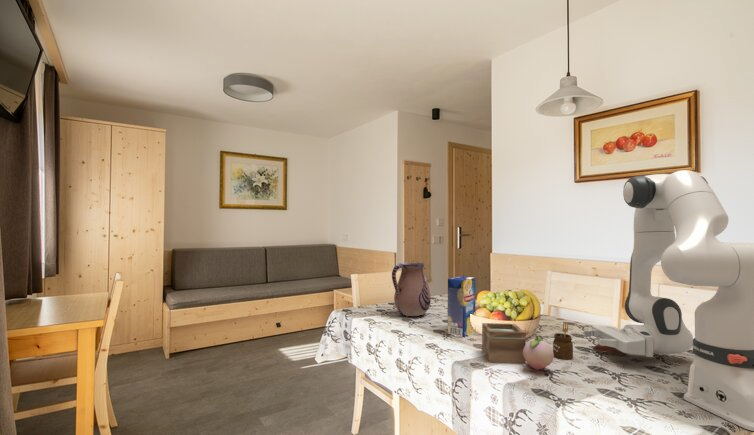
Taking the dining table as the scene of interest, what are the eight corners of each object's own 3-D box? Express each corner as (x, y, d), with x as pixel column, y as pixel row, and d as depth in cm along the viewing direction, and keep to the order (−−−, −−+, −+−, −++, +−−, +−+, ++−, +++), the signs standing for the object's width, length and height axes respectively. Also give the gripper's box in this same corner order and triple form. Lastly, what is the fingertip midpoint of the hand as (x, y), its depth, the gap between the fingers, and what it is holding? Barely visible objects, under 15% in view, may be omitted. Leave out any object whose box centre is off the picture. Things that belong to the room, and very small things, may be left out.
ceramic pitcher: (437, 315, 181) (438, 263, 181) (410, 322, 165) (410, 266, 166) (409, 309, 193) (409, 261, 193) (381, 316, 177) (382, 263, 178)
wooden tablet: (624, 359, 123) (624, 354, 123) (591, 351, 131) (591, 346, 131) (647, 343, 140) (647, 338, 141) (617, 337, 148) (617, 332, 148)
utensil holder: (569, 354, 126) (569, 318, 126) (576, 360, 119) (575, 322, 120) (550, 353, 127) (550, 317, 127) (556, 359, 120) (556, 322, 121)
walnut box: (525, 363, 116) (525, 332, 117) (489, 362, 117) (489, 331, 117) (514, 351, 127) (514, 323, 128) (482, 350, 128) (482, 323, 128)
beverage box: (475, 331, 152) (475, 277, 153) (463, 337, 143) (463, 280, 144) (460, 328, 156) (460, 276, 157) (447, 334, 148) (447, 278, 148)
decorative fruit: (552, 378, 105) (552, 342, 105) (521, 372, 109) (521, 338, 109) (554, 367, 113) (554, 334, 113) (526, 362, 117) (525, 330, 117)
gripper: (616, 321, 132) (576, 320, 133) (655, 337, 112) (607, 336, 113) (616, 339, 132) (576, 338, 133) (656, 359, 112) (608, 357, 112)
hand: (591, 337), depth 123 cm, fingers open, 8 cm apart
